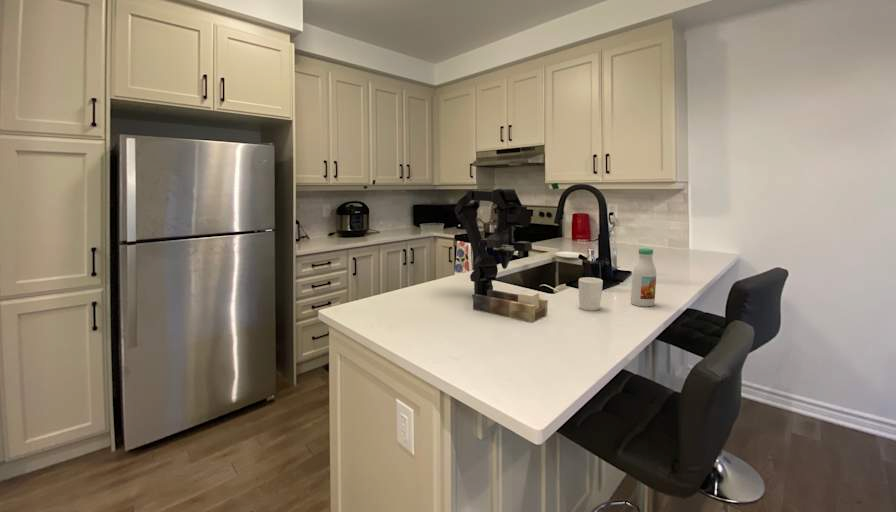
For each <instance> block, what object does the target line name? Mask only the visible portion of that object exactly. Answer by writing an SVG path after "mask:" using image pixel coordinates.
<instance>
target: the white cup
mask: <svg viewBox="0 0 896 512" xmlns="http://www.w3.org/2000/svg"><path fill="white" fill-rule="evenodd" d="M603 282H604V280H603V279H601V278H597V277H579V279H578V300H579V301H578V302H579V308H580V309H581V310H583V311H584V310H585V311H598V310H600V309H601V308H600V307H601V301H602V293H603V284H604V283H603Z"/></svg>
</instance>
